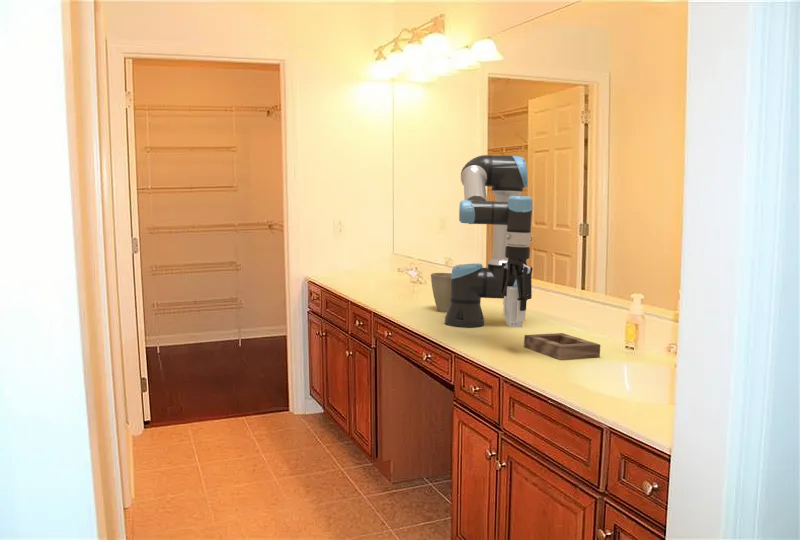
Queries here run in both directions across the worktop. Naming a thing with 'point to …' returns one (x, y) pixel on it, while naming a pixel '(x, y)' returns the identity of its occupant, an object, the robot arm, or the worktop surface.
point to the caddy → (562, 346)
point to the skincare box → (512, 306)
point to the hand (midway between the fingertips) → (513, 318)
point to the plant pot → (441, 290)
